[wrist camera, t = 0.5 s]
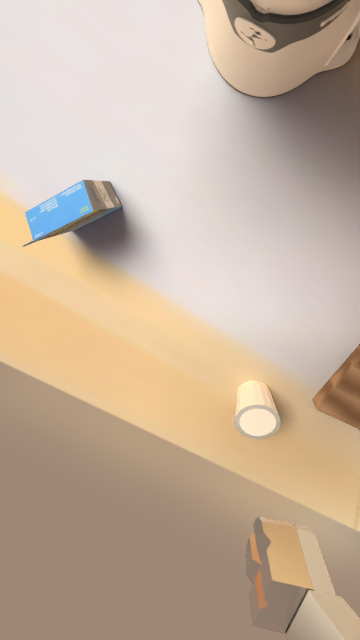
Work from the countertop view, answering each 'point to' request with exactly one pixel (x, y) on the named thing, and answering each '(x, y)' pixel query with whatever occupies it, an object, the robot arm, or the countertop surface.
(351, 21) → the robot arm
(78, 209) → the label tape cartridge
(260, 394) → the white cup
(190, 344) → the countertop surface
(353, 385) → the board
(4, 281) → the countertop surface
